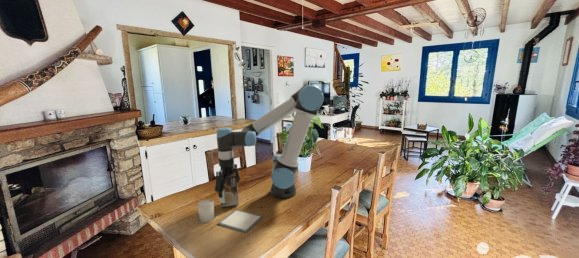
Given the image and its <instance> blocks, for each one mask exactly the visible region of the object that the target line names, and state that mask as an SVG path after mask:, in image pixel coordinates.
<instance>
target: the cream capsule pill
mask: <svg viewBox="0 0 579 258" xmlns="http://www.w3.org/2000/svg"><path fill="white" fill-rule="evenodd" d="M214 202H215V201H214V200H212V199H203V200H201V201H199V202H198V203H197V207H198V210H197V211H198V221H199V222H201V223H204V224H206V223H211V222H212V221H214V220H215V217H216V216H215V205H214V204H215V203H214Z"/></svg>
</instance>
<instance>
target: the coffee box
mask: <svg viewBox="0 0 579 258" xmlns="http://www.w3.org/2000/svg"><path fill="white" fill-rule="evenodd" d="M222 179H223V178H222ZM223 191H224V197H225V203H220V207H221V208H224V207H225V208H226V207H231V206H238V205H239V203H240V202H239V189H238V190H237V179H236V173H235V172H234V173H233V174H232V173H231V174H230V175H228V176H227V178H226V181H225V184H224V188H223Z"/></svg>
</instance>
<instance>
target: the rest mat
mask: <svg viewBox="0 0 579 258" xmlns="http://www.w3.org/2000/svg"><path fill="white" fill-rule="evenodd" d="M263 218H264V216H263V215H260V214H256V213H251V212H248V211H244V210H241V209H236V208H235V209H234V210H233V211H232V212H231V213H229V214H228V215H226V216H225V217H224V218H223V219H221V220H220V221H218V222H217V225H218V226H222V227H225V228H228V229H231V230H234V231H237V232H238V231H239V232H241V233H244V234H247V233H248V232H249V231H251V229H252V228H253V227H254V226H255V225H256V224H258V223H259V222H260V221H261V220H262V219H263Z"/></svg>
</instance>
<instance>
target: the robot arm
mask: <svg viewBox="0 0 579 258" xmlns="http://www.w3.org/2000/svg"><path fill="white" fill-rule="evenodd" d="M324 99H325V96H324V93H323V90H322V89H321V88H320V87H319V86H317V85H315V84H306V85H303V86H301V87H300V88H299V89H298V90H297V91H296V92H295V93H293V94H292V95H290V98H289V99H288V100H287V99H286V100H285V101H284V102H283V103H281V104H279V105H278V106H276V107H275V108H273V109H271V110H270V111H268V112H266V114H264V115H262V116H261V117H259V118H257V119H256V120H254V121H253V122H251V123H250V124H248V125H245V126H244V127H243V128H242V129H241V131H233V129H232V128H231V127H220V128H217V130H216V144H217V155H218V166H219V167H220V170H219V171H216V172H215V174H216V175H215V176H216V179H215V187H214V192H217V193H218V197H219V203H220V204H221V203H225V197H224V191H223V188H224V184H225V181H226V178H227V176H228V175H230V174H231V173H232V174H233V173H234V172H235V173H236V179H237V190H238V191H239V184H238V183H240V180H241V177H240V174H239V171H238V164H235V159H234V158H235V157H234V147H253V146H256V145H257V136H259V135H261V134H262V133H263V132H265V131H268V130H269V129H270V128H272V127H273V126H275V125H277V124H278V123H280V122H282V121H283V120H285V119H286V118H288V117H289V116H290V115H292V114H294V113H295V114H294V118H293V119H292V120H293V121H292V123H291V126H290V129H289V132H288V135H287V137H286V140H285V143H284V146H283V149H282V152H281V153H277V154H274V155H273V156H272V171H271V175H270V176H271V178H270V179H271V182H272V183H271V185H270V195H271V196H273V198H278V199H289V198H293V197H294V196H296V195H297V187H296V185H295V181H296V173H297V171H298V167H299V163H298V159H299V156H300V153H301V150H302V148H303V145H304V142H305V139H306V137H307V134H308V131H309V128H310V126H311V123H312V120H313V118H314V117H317V115H318V112H319V109H320V108H321V107H322V105H323V103H324ZM222 178H223V179H222Z"/></svg>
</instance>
